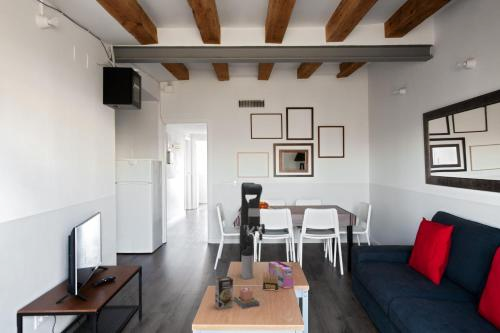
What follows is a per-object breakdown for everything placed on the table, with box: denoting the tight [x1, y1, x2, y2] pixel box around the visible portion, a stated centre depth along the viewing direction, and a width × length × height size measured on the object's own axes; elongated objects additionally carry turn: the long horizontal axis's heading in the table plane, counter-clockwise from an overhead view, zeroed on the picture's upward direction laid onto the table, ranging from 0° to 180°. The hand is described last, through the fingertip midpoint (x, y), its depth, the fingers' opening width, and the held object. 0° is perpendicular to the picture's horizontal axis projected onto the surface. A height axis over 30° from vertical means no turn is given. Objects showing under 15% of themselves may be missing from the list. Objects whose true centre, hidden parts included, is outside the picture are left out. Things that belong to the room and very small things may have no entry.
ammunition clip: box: [262, 271, 280, 290], centre depth 205 cm, size 11×2×12 cm, turn 74°
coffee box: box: [214, 276, 234, 310], centre depth 178 cm, size 9×6×16 cm
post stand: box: [233, 286, 260, 310], centre depth 183 cm, size 14×11×9 cm
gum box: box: [268, 260, 294, 288], centre depth 219 cm, size 24×8×14 cm, turn 25°
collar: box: [239, 286, 254, 301], centre depth 183 cm, size 6×6×6 cm
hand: (254, 241), depth 190 cm, fingers open, 8 cm apart
